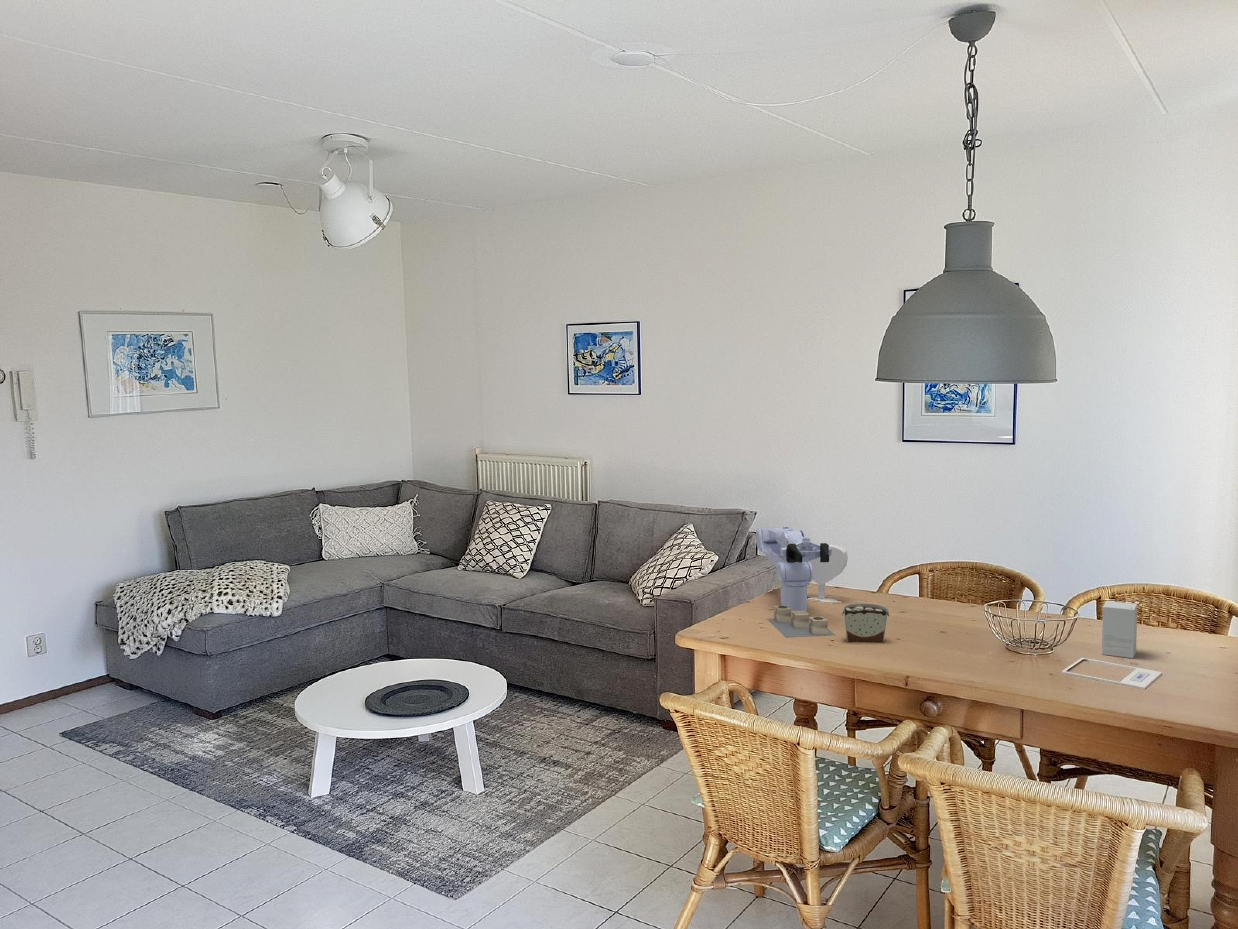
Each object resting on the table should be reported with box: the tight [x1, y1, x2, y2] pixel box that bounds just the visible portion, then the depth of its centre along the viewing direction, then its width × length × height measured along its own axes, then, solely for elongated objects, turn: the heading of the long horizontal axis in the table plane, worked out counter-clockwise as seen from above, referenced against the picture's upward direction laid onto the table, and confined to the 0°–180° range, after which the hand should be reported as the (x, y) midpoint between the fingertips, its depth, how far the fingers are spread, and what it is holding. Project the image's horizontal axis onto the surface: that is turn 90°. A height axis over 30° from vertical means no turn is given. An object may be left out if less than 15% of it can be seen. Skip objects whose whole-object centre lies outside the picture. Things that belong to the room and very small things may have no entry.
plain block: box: [791, 611, 810, 629], centre depth 269 cm, size 4×4×4 cm
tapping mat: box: [766, 617, 836, 639], centre depth 270 cm, size 20×14×1 cm
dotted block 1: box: [773, 605, 792, 623], centre depth 276 cm, size 4×4×4 cm
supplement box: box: [1101, 600, 1138, 659], centre depth 243 cm, size 7×7×13 cm
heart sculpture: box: [802, 543, 849, 603], centre depth 302 cm, size 16×5×18 cm, turn 61°
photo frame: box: [1061, 657, 1163, 690], centre depth 227 cm, size 15×1×18 cm
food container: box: [841, 603, 890, 644], centre depth 256 cm, size 12×6×10 cm, turn 84°
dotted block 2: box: [809, 616, 829, 635], centre depth 263 cm, size 4×4×4 cm
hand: (814, 558), depth 266 cm, fingers open, 7 cm apart
